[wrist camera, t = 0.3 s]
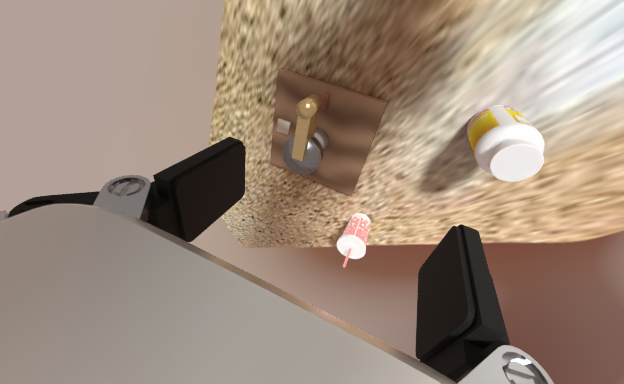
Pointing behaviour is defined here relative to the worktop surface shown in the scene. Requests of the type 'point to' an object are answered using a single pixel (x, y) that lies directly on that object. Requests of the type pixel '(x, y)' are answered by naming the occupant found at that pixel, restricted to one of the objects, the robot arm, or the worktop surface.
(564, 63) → the worktop surface
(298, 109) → the brass lever handle
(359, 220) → the beverage cup
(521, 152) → the supplement bottle
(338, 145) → the post base
